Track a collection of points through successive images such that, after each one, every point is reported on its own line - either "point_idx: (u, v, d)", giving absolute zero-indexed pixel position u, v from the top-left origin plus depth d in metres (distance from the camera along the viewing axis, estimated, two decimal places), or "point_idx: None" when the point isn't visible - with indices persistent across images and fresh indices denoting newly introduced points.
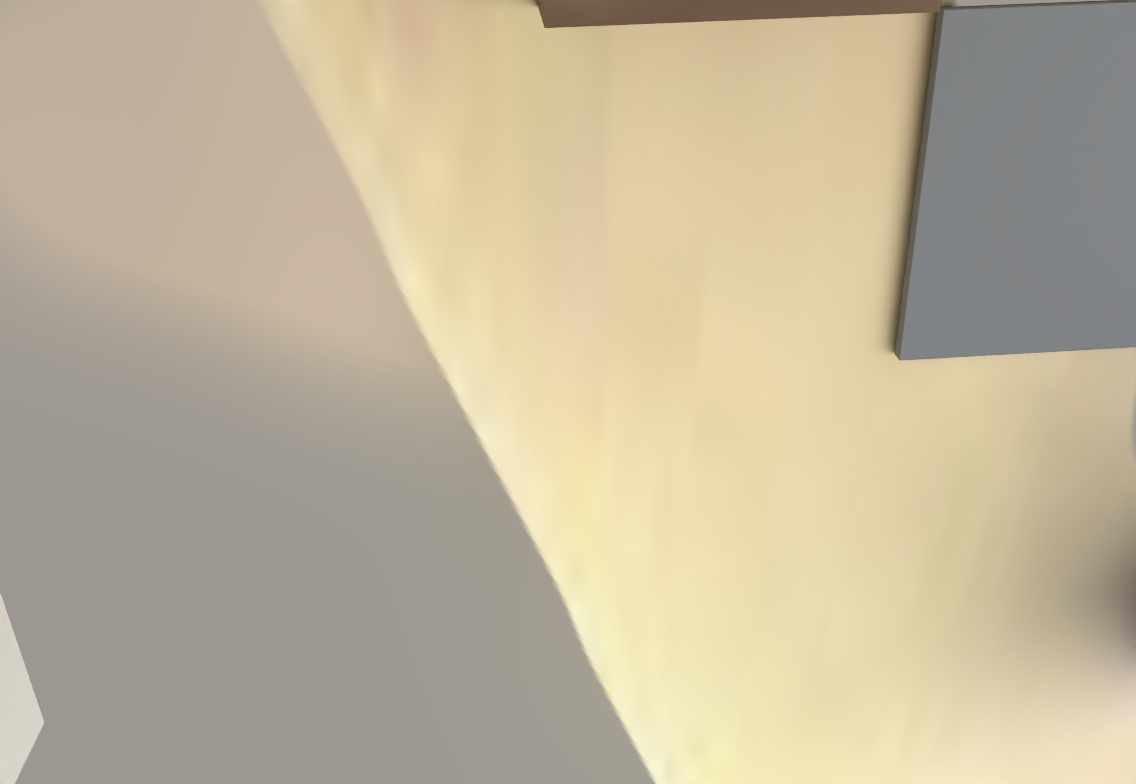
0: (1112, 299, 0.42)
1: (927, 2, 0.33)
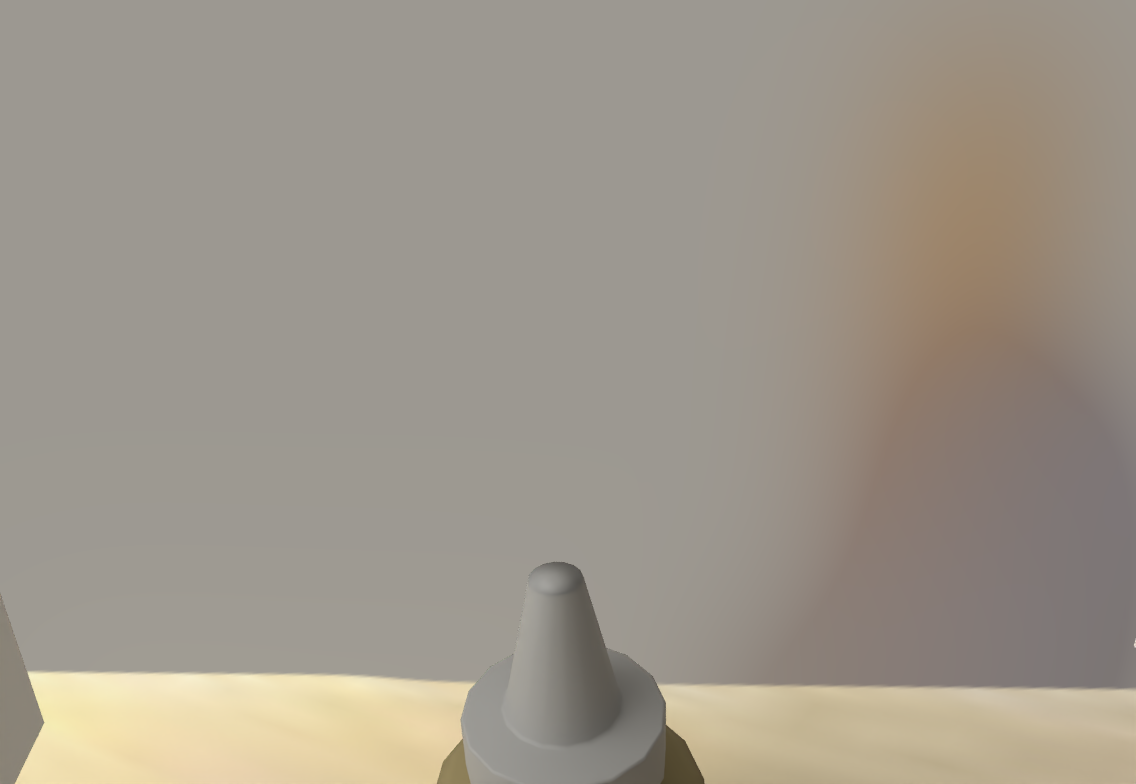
0: None
1: None
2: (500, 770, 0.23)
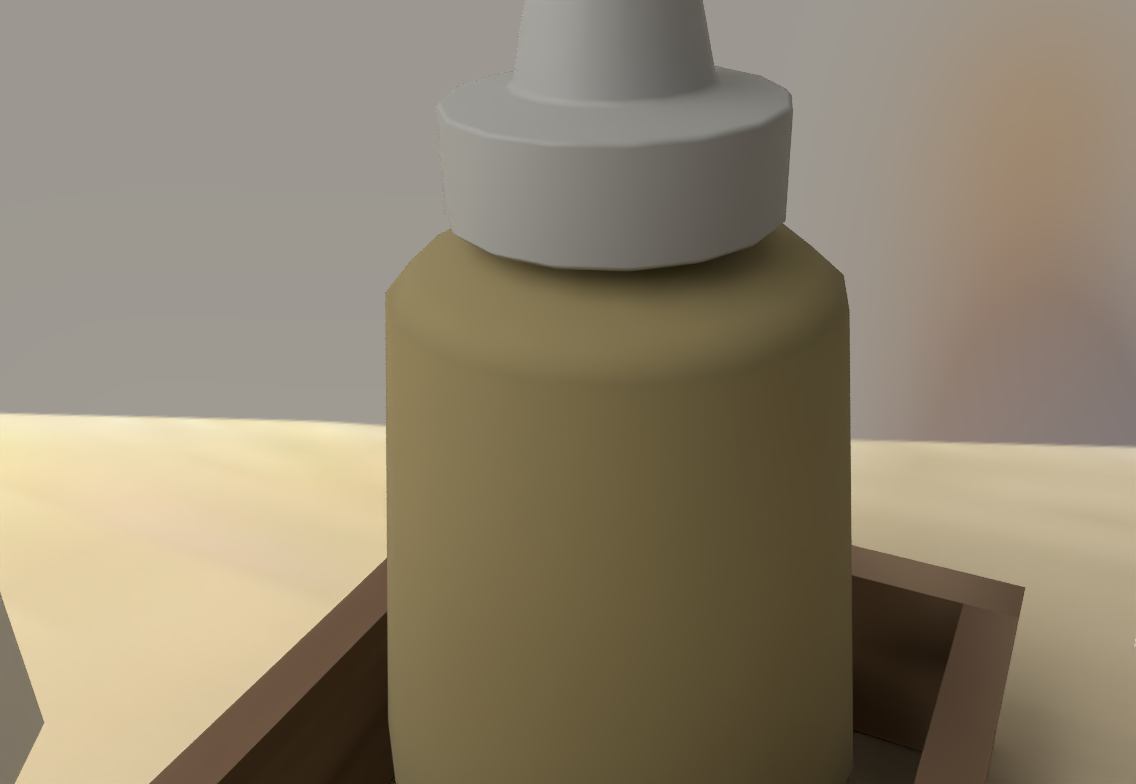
0: None
1: None
2: (500, 130, 0.13)
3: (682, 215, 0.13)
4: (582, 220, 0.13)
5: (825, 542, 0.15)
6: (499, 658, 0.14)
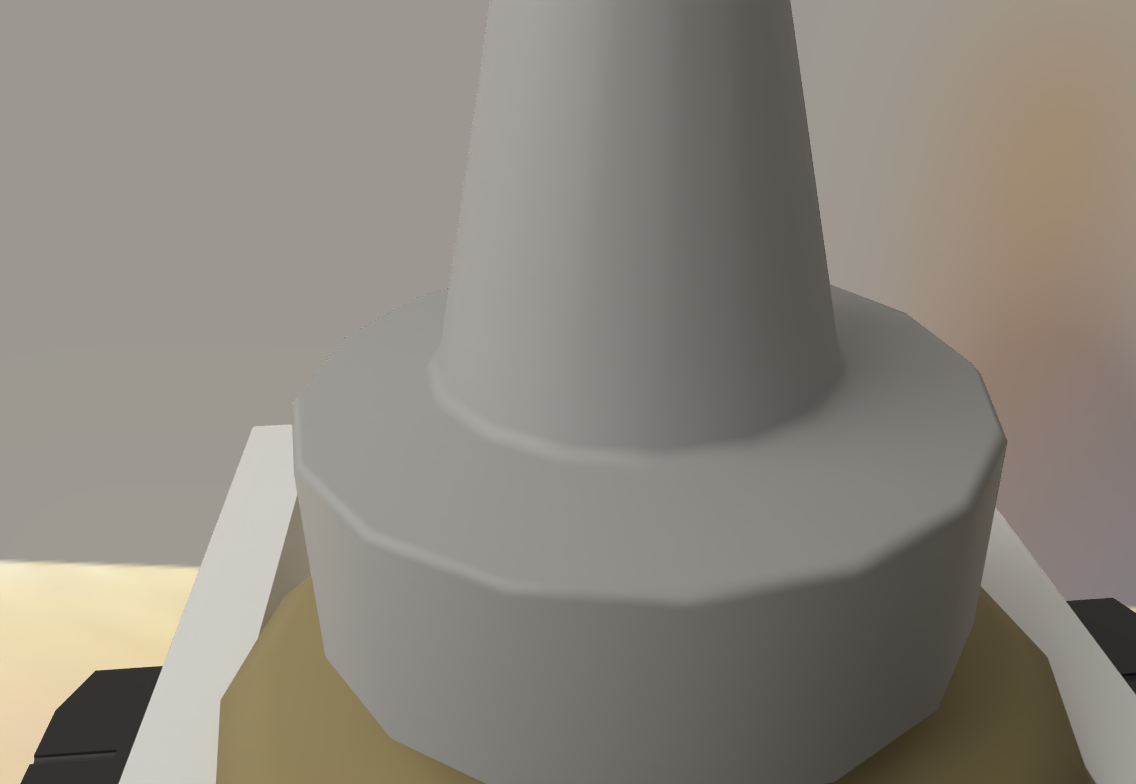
0: None
1: None
2: (400, 531, 0.06)
3: (797, 713, 0.06)
4: (580, 730, 0.06)
5: None
6: None
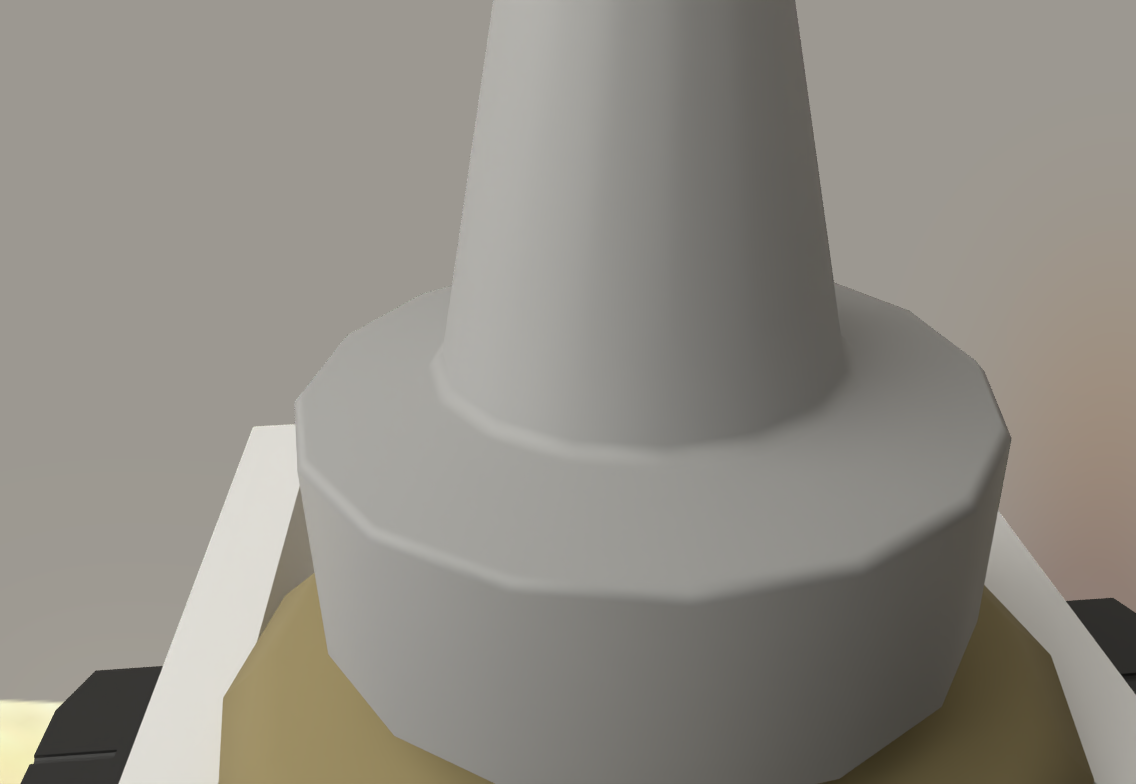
0: None
1: None
2: (403, 529, 0.06)
3: (803, 712, 0.06)
4: (584, 727, 0.06)
5: None
6: None
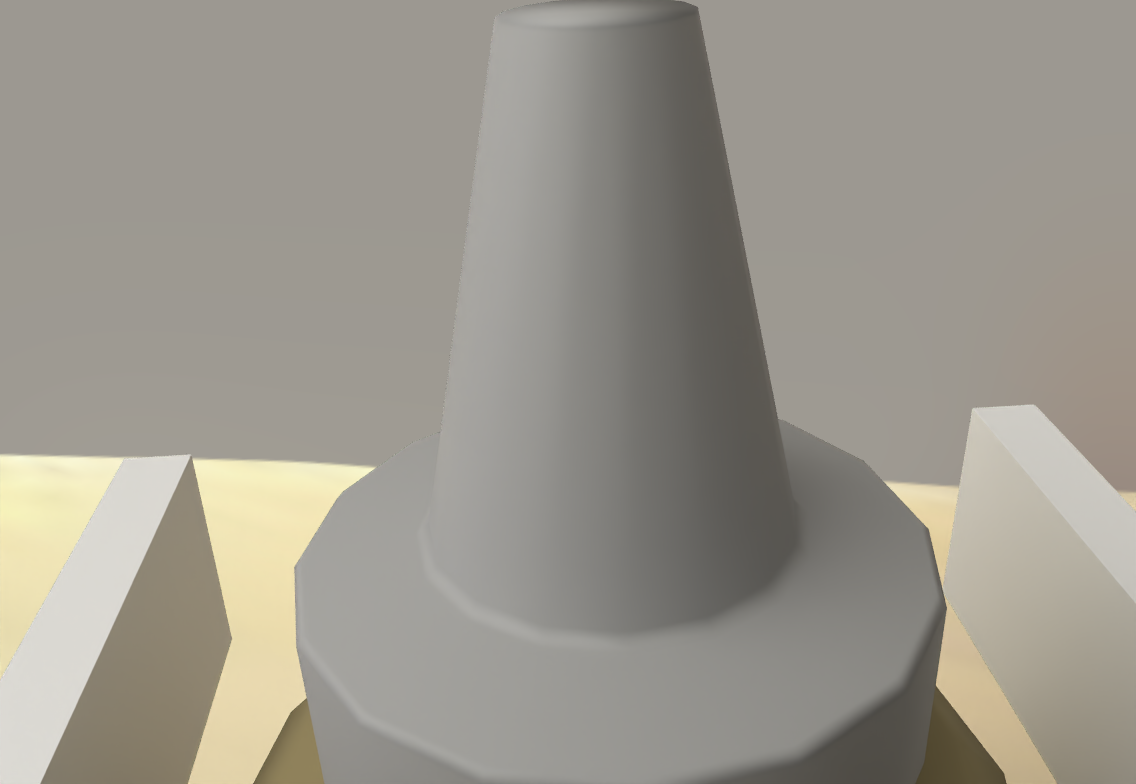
0: None
1: None
2: (391, 715, 0.06)
3: None
4: None
5: None
6: None
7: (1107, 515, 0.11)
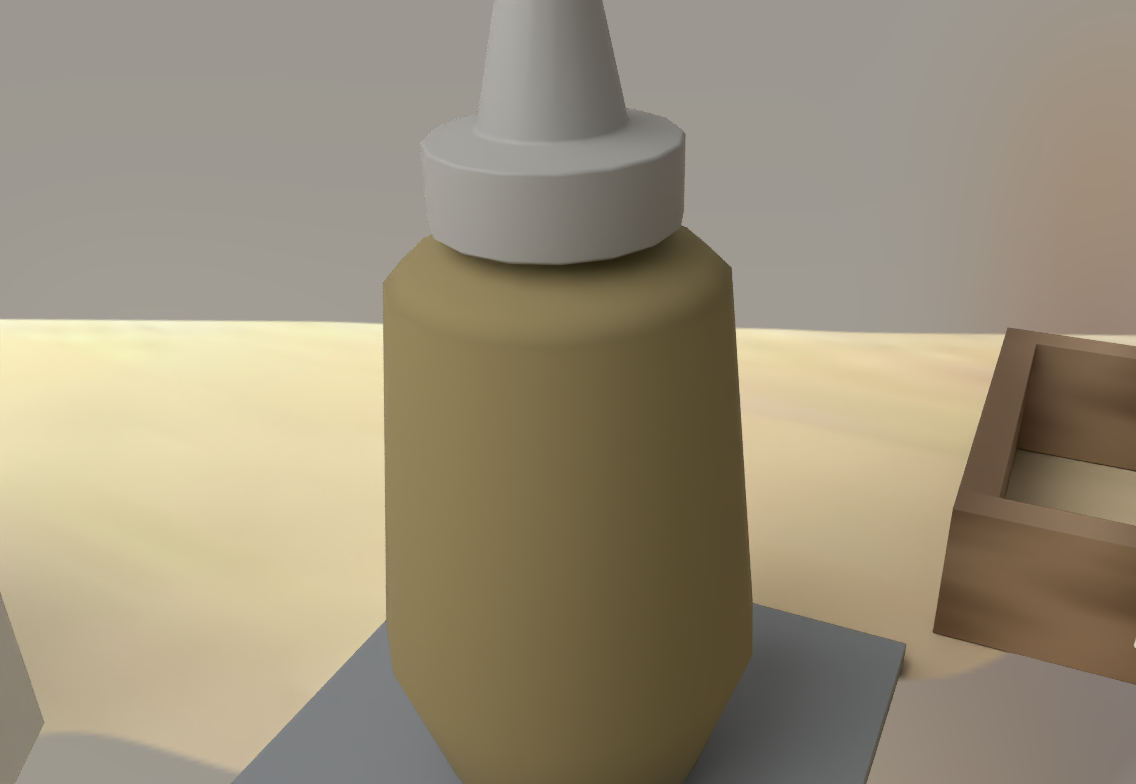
0: (379, 726, 0.26)
1: (967, 503, 0.28)
2: (466, 164, 0.17)
3: (598, 225, 0.18)
4: (526, 228, 0.17)
5: (715, 470, 0.20)
6: (470, 555, 0.19)
7: None
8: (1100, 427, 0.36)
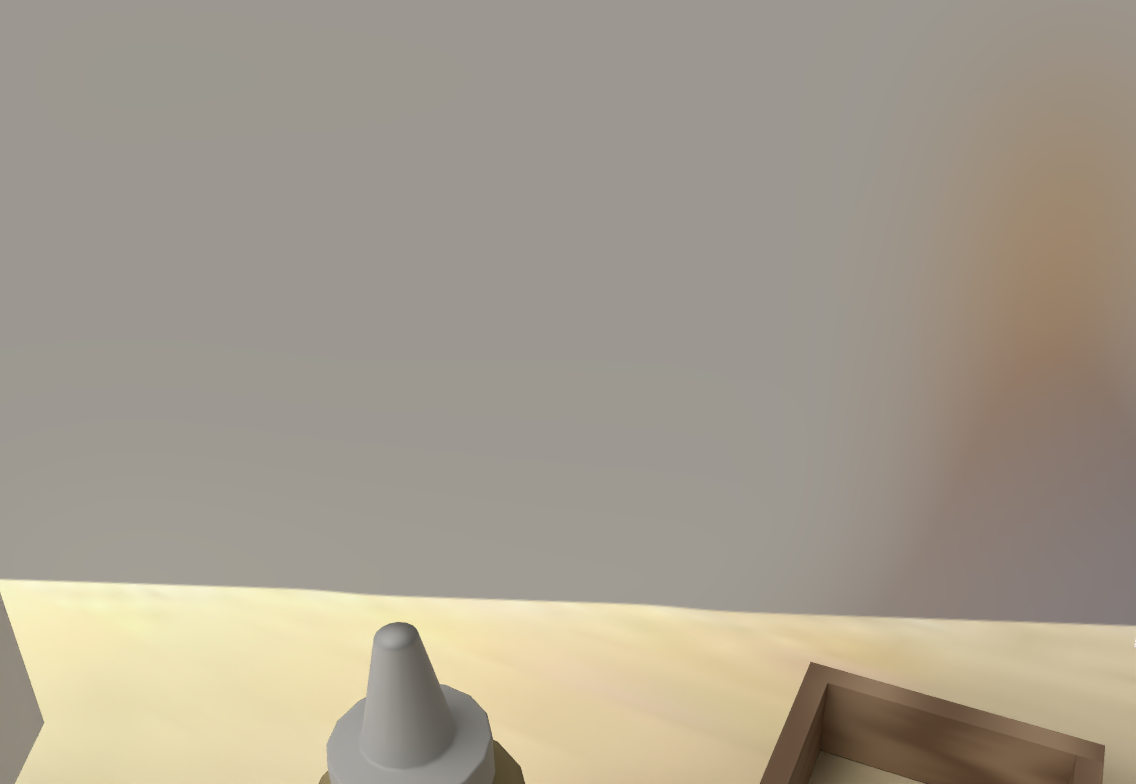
0: None
1: None
2: None
3: None
4: None
5: None
6: None
7: None
8: (877, 744, 0.48)
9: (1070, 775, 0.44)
